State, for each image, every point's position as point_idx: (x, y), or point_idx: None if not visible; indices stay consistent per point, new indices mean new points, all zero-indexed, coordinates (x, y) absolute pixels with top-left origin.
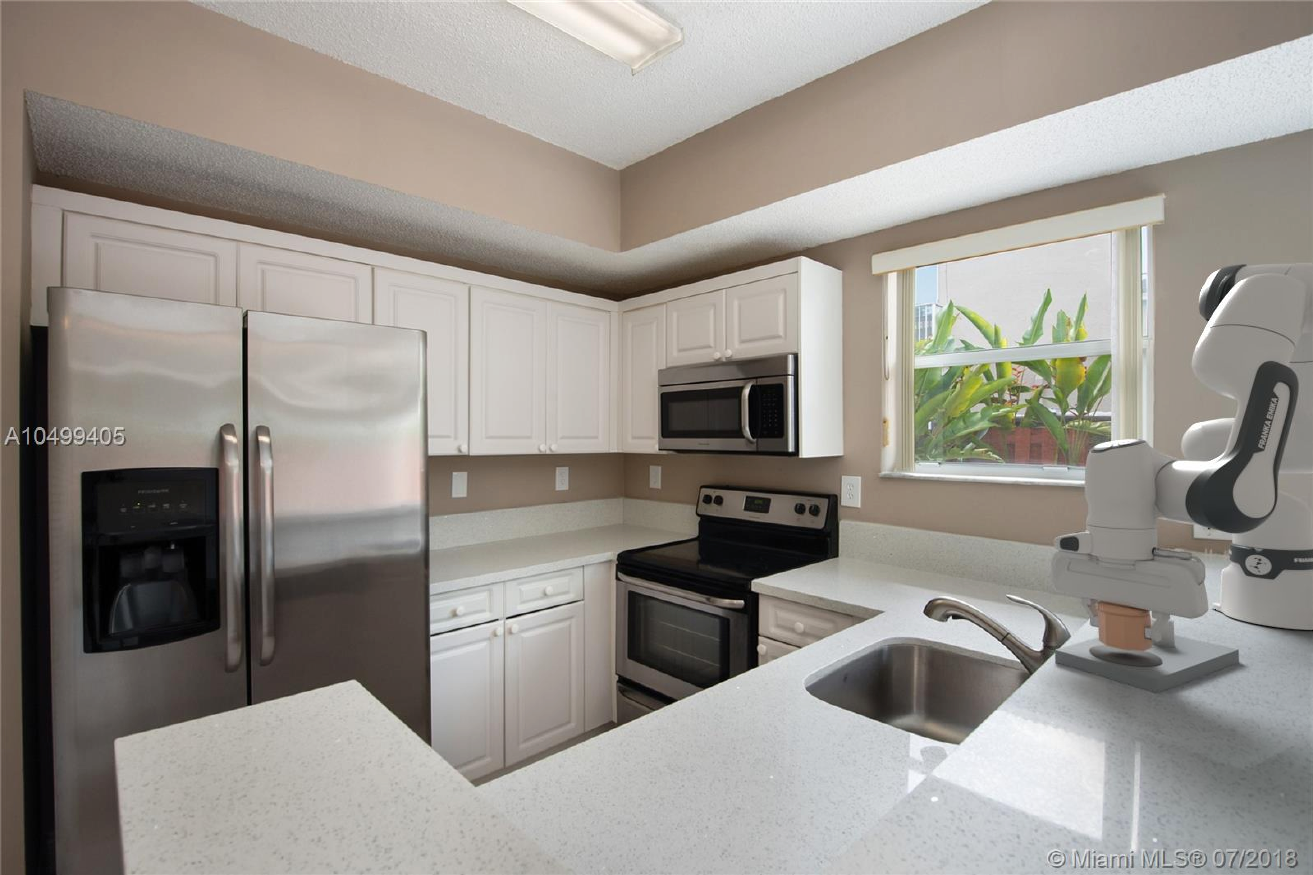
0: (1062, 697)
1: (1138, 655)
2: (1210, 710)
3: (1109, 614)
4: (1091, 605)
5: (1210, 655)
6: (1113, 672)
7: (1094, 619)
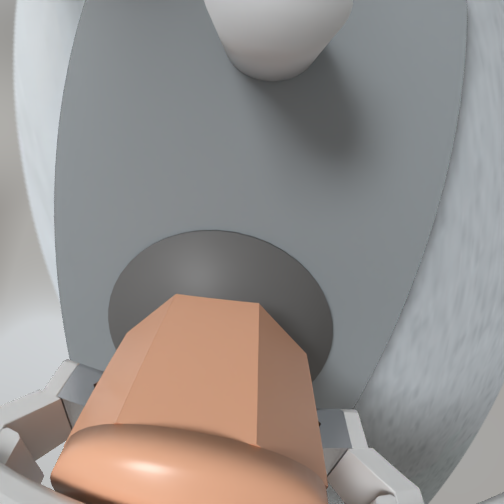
0: None
1: None
2: (410, 416)
3: None
4: (24, 441)
5: (443, 88)
6: None
7: None
